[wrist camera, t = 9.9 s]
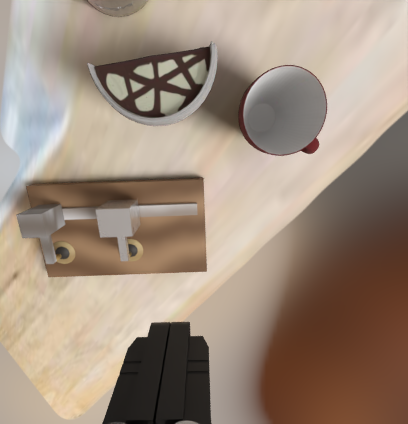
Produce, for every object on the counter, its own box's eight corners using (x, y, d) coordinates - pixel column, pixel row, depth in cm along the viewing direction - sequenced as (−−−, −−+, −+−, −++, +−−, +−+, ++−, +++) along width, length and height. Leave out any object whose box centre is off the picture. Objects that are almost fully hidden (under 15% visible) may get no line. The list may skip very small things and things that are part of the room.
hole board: (33, 184, 36) (-2, 195, 30) (203, 177, 36) (203, 187, 30) (54, 272, 40) (27, 297, 34) (206, 266, 40) (207, 291, 34)
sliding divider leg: (107, 200, 34) (95, 209, 30) (137, 199, 34) (129, 208, 30) (116, 255, 37) (105, 270, 33) (143, 254, 37) (136, 269, 33)
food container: (128, 134, 34) (100, 135, 25) (116, 83, 32) (81, 63, 23) (219, 119, 34) (227, 114, 24) (213, 67, 32) (218, 40, 22)
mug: (319, 113, 34) (366, 106, 24) (285, 168, 36) (316, 181, 26) (250, 71, 32) (271, 46, 22) (219, 131, 34) (226, 131, 25)
